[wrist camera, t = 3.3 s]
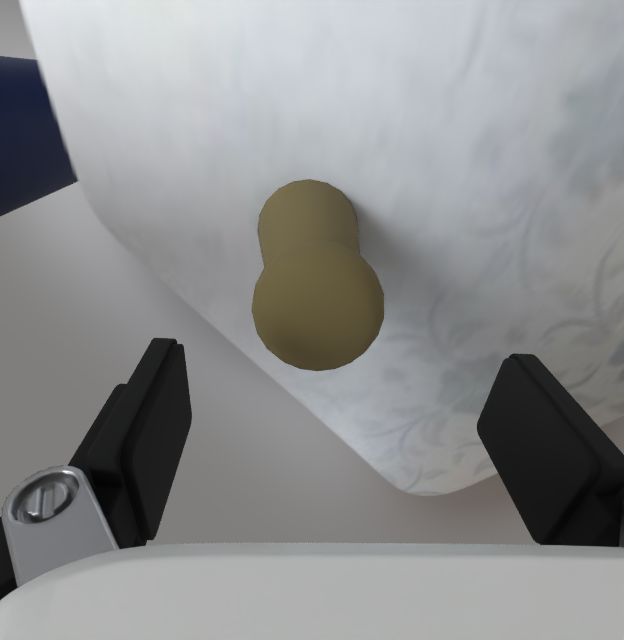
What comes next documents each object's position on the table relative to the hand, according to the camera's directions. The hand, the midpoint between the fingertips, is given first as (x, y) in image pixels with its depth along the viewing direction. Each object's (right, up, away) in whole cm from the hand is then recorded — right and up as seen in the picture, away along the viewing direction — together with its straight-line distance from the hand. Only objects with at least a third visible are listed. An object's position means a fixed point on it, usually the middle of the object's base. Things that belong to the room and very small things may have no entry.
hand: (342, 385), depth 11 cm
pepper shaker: (-1, +7, +12) cm, 14 cm away
